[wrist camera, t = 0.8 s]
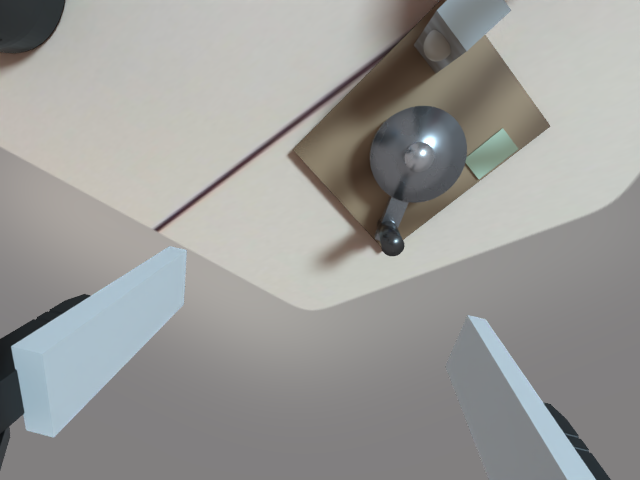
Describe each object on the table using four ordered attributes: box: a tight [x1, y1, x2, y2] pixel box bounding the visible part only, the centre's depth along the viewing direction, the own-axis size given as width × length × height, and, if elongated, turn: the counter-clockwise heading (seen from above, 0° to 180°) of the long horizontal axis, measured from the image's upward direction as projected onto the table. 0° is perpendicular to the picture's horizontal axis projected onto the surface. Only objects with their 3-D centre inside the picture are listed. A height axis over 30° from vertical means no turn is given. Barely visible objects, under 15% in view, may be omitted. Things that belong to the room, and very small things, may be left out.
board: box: [293, 0, 550, 246], centre depth 25 cm, size 14×18×9 cm
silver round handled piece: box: [369, 106, 467, 256], centre depth 27 cm, size 12×8×6 cm, turn 163°
